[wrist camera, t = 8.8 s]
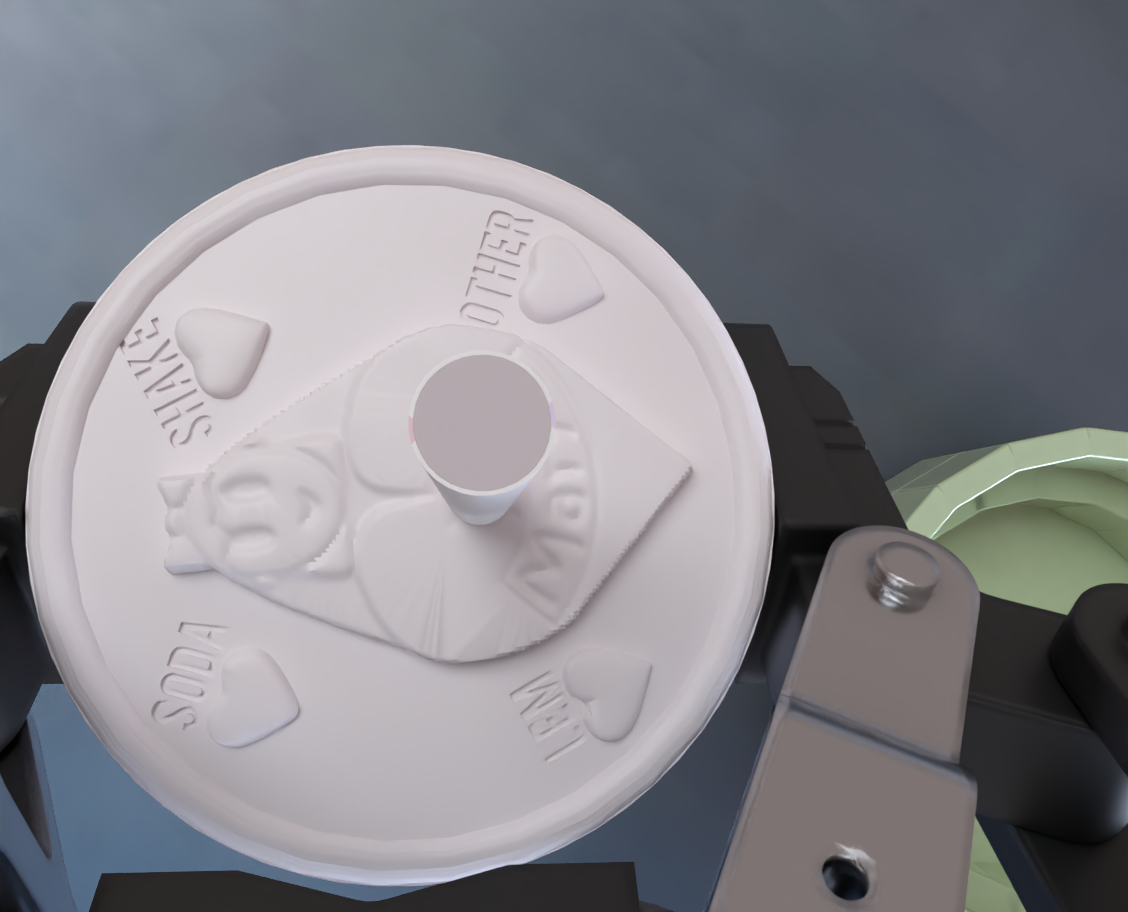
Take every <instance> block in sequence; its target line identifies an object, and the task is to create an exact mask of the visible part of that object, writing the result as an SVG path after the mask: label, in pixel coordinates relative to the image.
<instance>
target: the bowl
mask: <svg viewBox="0 0 1128 912" xmlns="http://www.w3.org/2000/svg"><path fill="white" fill-rule="evenodd" d="M885 484H886V486H887V488H888V490H889V492H890V494H891V496H892V498H893V500H894V502H895V504H896V506H897V508H898V510H899V512H900V514H901V516H902V518H903V520H904V522H905V524H906V526H907V528H908V530H910V531H913V532H916V533H919V534H921V535H924V536H926V537H928V538H930V539H932V540H934V541H936V542H938V543H939V544H941V545H942V546H944V547H945V548H947V549H948V550H950V551H951V552H952V553H953V554H954V555H956V556H957V557H958V558H959V559H960V560H961V561H962V562H963V563H964V564H965V565H966V567H967V568H968V569H969V571H970V572H971V574H972V575H973V577H974V579H975V581H976V583H977V585H978V589H979V591H980V592H983V593H985V594H988V595H991V596H995V597H998V598H1001V599H1005V600H1009V601H1013V602H1017V603H1021V604H1025V605H1029V606H1033V607H1037V608H1041V609H1045V610H1049V611H1053V612H1057V613H1061V614H1065V615H1068V613H1069V611H1070V610H1071V608H1072V607H1073V605H1074V603H1075V602H1076V600H1077V599H1078V598H1079V596H1080V595H1081V594H1082V593H1083V592H1084V591H1086V590H1087V589H1089V588H1091V587H1094V586H1097V585H1100V584H1107V583H1125V584H1128V432H1123V431H1115V430H1107V429H1099V428H1091V427H1087V428H1085V427H1082V428H1077V429H1072V430H1067V431H1063V432H1058V433H1053V434H1048V435H1043V436H1038V437H1033V438H1028V439H1023V440H1018V441H1013V442H1008V443H1003V444H998V445H993V446H988V447H983V448H978V449H973V450H969V451H964V452H959V453H954V454H949V455H944V456H939V457H934V458H930V459H925V460H922V461H919V462H918V463H916V464H914V465H913V466H911V467H909V468H908V469H906V470H904V471H903V472H901V473H899V474H898V475H896V476H894V477H892V478H891V479H889V480H887V481H886V482H885ZM965 912H1026V910H1025V908H1024V906H1023V905H1022V903H1021V901H1020V899H1019V897H1018V895H1017V893H1016V892H1015V890H1014V888H1013V886H1012V884H1011V882H1010V880H1009V878H1008V877H1007V875H1006V873H1005V871H1004V869H1003V867H1002V865H1001V864H1000V862H999V860H998V858H997V856H996V854H995V852H994V851H993V849H992V847H991V845H990V843H989V841H988V839H987V837H986V836H985V834H984V832H983V830H982V828H981V826H980V824H979V823H978V821H977V819H976V817H975V822H974V831H973V840H972V849H971V858H970V867H969V876H968V885H967V894H966V903H965Z"/></svg>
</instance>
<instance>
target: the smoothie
mask: <svg viewBox="0 0 1128 912" xmlns="http://www.w3.org/2000/svg"><path fill="white" fill-rule="evenodd" d="M25 516H26V550H27V558H28V567H29V575H30V583H31V587H32V592H33V596H34V601H35V605H36V610H37V614H38V619H39V622H40V625H41V628H42V631H43V634H44V636H45V639H46V642H47V645H48V648H49V651H50V654H51V657H52V659H53V661H54V663H55V665H56V668H57V670H58V672H59V674H60V676H61V678H62V681H63V683H64V685H65V687H66V689H67V691H68V693H69V695H70V696H71V698H72V700H73V701H74V703H75V705H76V706H77V708H78V710H79V711H80V713H81V715H82V716H83V718H84V720H85V721H86V723H87V724H88V726H89V727H90V728H91V730H92V731H93V732H94V734H95V735H96V736H97V738H98V739H99V740H100V742H101V743H102V744H103V746H104V747H105V748H106V750H107V751H108V752H109V754H110V755H111V756H112V757H113V758H114V759H115V760H116V761H117V762H118V764H119V765H120V766H121V767H122V768H123V769H124V770H125V771H126V772H127V773H128V774H129V775H130V777H131V778H132V779H133V780H134V781H135V782H136V783H137V784H138V785H140V786H141V787H142V788H143V789H144V790H145V791H146V792H148V793H149V794H150V795H151V796H152V797H153V798H154V799H156V800H157V801H158V802H159V803H160V804H161V805H163V806H164V807H165V808H166V809H168V810H169V811H171V812H172V813H173V814H175V815H176V816H178V817H179V818H180V819H182V820H183V821H185V822H186V823H188V824H189V825H190V826H192V827H193V828H195V829H196V830H198V831H200V832H201V833H203V834H205V835H207V836H209V837H210V838H212V839H214V840H216V841H218V842H219V843H221V844H223V845H225V846H227V847H228V848H230V849H233V850H235V851H237V852H240V853H242V854H244V855H247V856H249V857H251V858H254V859H256V860H258V861H261V862H263V863H265V864H269V865H272V866H275V867H278V868H281V869H285V870H288V871H291V872H294V873H298V874H301V875H305V876H310V877H315V878H320V879H325V880H330V881H335V882H340V883H351V884H361V885H371V886H420V885H430V884H439V883H445V882H449V881H453V880H456V879H460V878H463V877H467V876H470V875H474V874H477V873H481V872H484V871H488V870H491V869H495V868H498V867H502V866H505V865H519V864H525V863H528V862H530V861H533V860H535V859H537V858H540V857H542V856H544V855H547V854H549V853H551V852H554V851H556V850H558V849H561V848H563V847H565V846H567V845H568V844H570V843H572V842H574V841H576V840H577V839H579V838H581V837H583V836H585V835H587V834H588V833H590V832H592V831H594V830H596V829H597V828H598V827H600V826H601V825H603V824H604V823H606V822H607V821H609V820H610V819H612V818H613V817H614V816H616V815H617V814H619V813H620V812H622V811H623V810H625V809H626V808H627V807H628V806H630V805H631V804H632V803H633V802H634V801H636V800H637V799H638V798H639V797H640V796H642V795H643V794H644V793H645V792H646V791H648V790H649V789H650V788H651V787H652V786H653V785H655V784H656V783H657V782H658V781H659V779H660V778H661V777H662V776H663V775H664V774H665V773H666V772H667V771H668V770H669V769H670V768H671V767H672V766H673V765H674V764H675V763H676V762H677V761H678V760H679V759H680V758H681V757H682V756H683V754H684V753H685V752H686V751H687V749H688V748H689V747H690V746H691V744H692V743H693V742H694V741H695V739H696V738H697V737H698V736H699V734H700V733H701V732H702V731H703V729H704V728H705V726H706V725H707V723H708V722H709V720H710V719H711V717H712V716H713V714H714V713H715V711H716V710H717V708H718V706H719V705H720V703H721V702H722V700H723V699H724V697H725V695H726V693H727V691H728V689H729V687H730V685H731V683H732V682H733V680H734V678H735V676H736V674H737V672H738V670H739V668H740V666H741V664H742V661H743V659H744V656H745V654H746V651H747V649H748V647H749V644H750V642H751V639H752V637H753V634H754V631H755V628H756V624H757V621H758V618H759V614H760V611H761V608H762V604H763V601H764V597H765V592H766V587H767V582H768V577H769V571H770V566H771V558H772V548H773V538H774V485H773V474H772V463H771V456H770V451H769V446H768V441H767V435H766V430H765V425H764V422H763V418H762V415H761V411H760V408H759V404H758V401H757V398H756V394H755V391H754V389H753V386H752V384H751V381H750V379H749V376H748V374H747V371H746V369H745V366H744V363H743V361H742V359H741V357H740V355H739V353H738V351H737V349H736V347H735V345H734V343H733V341H732V339H731V337H730V335H729V334H728V332H727V330H726V328H725V327H724V325H723V323H722V322H721V320H720V319H719V317H718V316H717V314H716V312H715V311H714V309H713V308H712V306H711V305H710V303H709V301H708V300H707V299H706V298H705V296H704V295H703V294H702V292H701V291H700V290H699V289H698V287H697V286H696V285H695V283H694V282H693V281H692V280H691V278H690V277H689V276H688V274H687V273H686V272H685V271H684V270H683V269H682V268H681V267H680V266H679V265H678V264H677V263H676V262H675V261H674V259H673V258H672V257H671V256H670V255H669V254H668V253H667V252H666V251H665V250H664V249H663V248H662V247H661V246H660V245H659V244H657V243H656V242H655V241H654V240H653V239H652V238H651V237H649V236H648V235H647V234H646V233H645V232H644V231H643V230H641V229H640V228H639V227H638V226H637V225H635V224H634V223H633V222H631V221H630V220H628V219H627V218H626V217H624V216H623V215H622V214H620V213H619V212H617V211H616V210H615V209H613V208H612V207H611V206H609V205H607V204H606V203H604V202H602V201H601V200H599V199H597V198H595V197H594V196H592V195H590V194H589V193H587V192H585V191H584V190H582V189H580V188H578V187H576V186H574V185H572V184H570V183H567V182H565V181H563V180H561V179H559V178H557V177H555V176H553V175H551V174H548V173H545V172H543V171H540V170H537V169H534V168H532V167H529V166H526V165H523V164H521V163H518V162H515V161H511V160H507V159H503V158H499V157H495V156H492V155H488V154H484V153H478V152H472V151H466V150H460V149H454V148H447V147H433V146H418V145H400V146H374V147H365V148H357V149H349V150H341V151H337V152H332V153H327V154H323V155H318V156H313V157H309V158H305V159H302V160H299V161H296V162H292V163H289V164H286V165H283V166H280V167H277V168H273V169H271V170H269V171H266V172H264V173H262V174H259V175H257V176H254V177H252V178H250V179H247V180H245V181H243V182H240V183H238V184H236V185H235V186H233V187H231V188H229V189H227V190H225V191H223V192H222V193H220V194H218V195H216V196H214V197H212V198H211V199H209V200H207V201H206V202H204V203H203V204H201V205H200V206H198V207H197V208H195V209H194V210H192V211H191V212H189V213H188V214H186V215H185V216H183V217H182V218H180V219H179V220H177V221H176V222H175V223H174V224H172V225H171V226H170V227H169V228H167V229H166V230H165V231H164V232H163V233H161V234H160V235H159V236H158V237H156V238H155V239H154V240H153V241H152V242H150V243H149V244H148V245H147V246H146V247H145V248H144V249H143V250H142V251H141V252H140V253H139V254H138V255H137V256H136V257H135V258H134V259H133V260H132V261H131V262H130V263H129V264H128V265H127V266H126V267H125V268H124V269H123V270H122V271H121V273H120V274H119V275H118V276H117V277H116V279H115V280H114V281H113V282H112V283H111V285H110V286H109V287H108V288H107V290H106V291H105V292H104V293H103V294H102V296H101V297H100V298H99V299H98V301H97V302H96V304H95V305H94V307H93V308H92V310H91V311H90V313H89V314H88V316H87V317H86V319H85V320H84V322H83V323H82V325H81V326H80V328H79V329H78V331H77V333H76V335H75V337H74V339H73V340H72V342H71V344H70V346H69V348H68V350H67V352H66V353H65V355H64V357H63V359H62V361H61V363H60V366H59V368H58V370H57V373H56V375H55V378H54V380H53V382H52V385H51V387H50V390H49V392H48V394H47V397H46V400H45V404H44V407H43V410H42V414H41V417H40V420H39V424H38V427H37V430H36V434H35V439H34V445H33V450H32V455H31V460H30V465H29V472H28V483H27V494H26V505H25Z"/></svg>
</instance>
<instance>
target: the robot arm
mask: <svg viewBox="0 0 1128 912" xmlns="http://www.w3.org/2000/svg"><path fill="white" fill-rule="evenodd" d="M95 304H96V302H76V303H74V304H73V305H72V306H71V307H70V308H69V310H68V311H67V313H66V314H65V315H64V317H63V318H62V320H61V321H60V323H59V324H58V325H57V327H56V328H55V330H54V331H53V332H52V334H51V335H50V337H49V338H48V340H47V341H46V342H45V344H27V345H25V346H24V347H22V348H20V349H19V350H17V351H16V352H14V353H13V354H11V355H10V356H8V357H7V358H5V359H3V360H2V361H0V912H78V911H77V908H76V905H75V902H74V900H73V896H72V893H71V890H70V887H69V883H68V879H67V875H66V870H65V865H64V860H63V855H62V850H61V845H60V840H59V835H58V830H57V825H56V820H55V815H54V810H53V805H52V800H51V795H50V790H49V785H48V780H47V775H46V770H45V765H44V760H43V755H42V750H41V745H40V740H39V735H38V730H37V727H36V724H35V722H34V720H33V718H32V716H31V714H30V709H31V707H32V704H33V702H34V700H35V698H36V696H37V694H38V691H39V689H40V687H41V685H42V684H64V683H63V681H62V678H61V676H60V674H59V672H58V670H57V668H56V665H55V663H54V661H53V659H52V657H51V654H50V651H49V648H48V645H47V642H46V639H45V636H44V634H43V631H42V628H41V625H40V622H39V619H38V614H37V610H36V605H35V601H34V596H33V592H32V587H31V583H30V575H29V567H28V558H27V550H26V516H25V505H26V494H27V483H28V472H29V465H30V460H31V455H32V450H33V445H34V439H35V434H36V430H37V427H38V424H39V420H40V417H41V414H42V410H43V407H44V404H45V400H46V397H47V394H48V392H49V390H50V387H51V385H52V382H53V380H54V378H55V375H56V373H57V370H58V368H59V366H60V363H61V361H62V359H63V357H64V355H65V353H66V352H67V350H68V348H69V346H70V344H71V342H72V340H73V339H74V337H75V335H76V333H77V331H78V329H79V328H80V326H81V325H82V323H83V322H84V320H85V319H86V317H87V316H88V314H89V313H90V311H91V310H92V308H93V307H94V305H95ZM723 325H724V327H725V328H726V330H727V332H728V334H729V335H730V337H731V339H732V341H733V343H734V345H735V347H736V349H737V351H738V353H739V355H740V357H741V359H742V361H743V363H744V366H745V369H746V371H747V374H748V376H749V379H750V381H751V384H752V386H753V389H754V391H755V394H756V398H757V401H758V404H759V408H760V411H761V415H762V418H763V422H764V425H765V430H766V435H767V441H768V446H769V451H770V456H771V463H772V474H773V485H774V538H773V548H772V558H771V566H770V571H769V577H768V582H767V587H766V592H765V597H764V601H763V604H762V608H761V611H760V614H759V618H758V621H757V624H756V628H755V631H754V634H753V637H752V639H751V642H750V644H749V647H748V649H747V651H746V654H745V656H744V659H743V661H742V664H741V666H740V668H739V670H738V672H737V674H736V676H735V678H734V680H735V683H768V685H769V689H770V693H771V696H772V700H773V703H774V706H773V709H772V712H771V714H770V717H769V720H768V723H767V726H766V729H765V732H764V735H763V738H762V741H761V744H760V747H759V749H758V752H757V755H756V758H755V761H754V764H753V767H752V770H751V773H750V776H749V779H748V782H747V785H746V788H745V791H744V794H743V797H742V800H741V803H740V806H739V809H738V812H737V815H736V818H735V821H734V824H733V827H732V830H731V832H730V835H729V838H728V841H727V844H726V847H725V850H724V853H723V856H722V859H721V862H720V865H719V868H718V871H717V874H716V877H715V880H714V883H713V885H712V888H711V891H710V894H709V897H708V900H707V903H706V906H705V909H704V911H703V912H965V903H966V894H967V885H968V876H969V867H970V858H971V849H972V840H973V831H974V822H975V817H976V819H977V821H978V823H979V824H980V826H981V828H982V830H983V832H984V834H985V836H986V837H987V839H988V841H989V843H990V845H991V847H992V849H993V851H994V852H995V854H996V856H997V858H998V860H999V862H1000V864H1001V865H1002V867H1003V869H1004V871H1005V873H1006V875H1007V877H1008V878H1009V880H1010V882H1011V884H1012V886H1013V888H1014V890H1015V892H1016V893H1017V895H1018V897H1019V899H1020V901H1021V903H1022V905H1023V906H1024V908H1025V910H1026V912H1128V584H1125V583H1107V584H1100V585H1097V586H1094V587H1091V588H1089V589H1087V590H1086V591H1084V592H1083V593H1082V594H1081V595H1080V596H1079V598H1078V599H1077V600H1076V602H1075V603H1074V605H1073V607H1072V608H1071V610H1070V611H1069V613H1068V615H1065V614H1061V613H1057V612H1053V611H1049V610H1045V609H1041V608H1037V607H1033V606H1029V605H1025V604H1021V603H1017V602H1013V601H1009V600H1005V599H1001V598H998V597H995V596H991V595H988V594H985V593H983V592H980V591H979V589H978V585H977V583H976V581H975V579H974V577H973V575H972V574H971V572H970V571H969V569H968V568H967V567H966V565H965V564H964V563H963V562H962V561H961V560H960V559H959V558H958V557H957V556H956V555H954V554H953V553H952V552H951V551H950V550H948V549H947V548H945V547H944V546H942V545H941V544H939V543H938V542H936V541H934V540H932V539H930V538H928V537H926V536H924V535H921V534H919V533H916V532H913V531H910V530H908V528H907V526H906V524H905V522H904V520H903V518H902V516H901V514H900V512H899V510H898V508H897V506H896V504H895V502H894V500H893V498H892V496H891V494H890V492H889V490H888V488H887V486H886V484H885V482H884V480H883V478H882V476H881V474H880V472H879V470H878V468H877V466H876V464H875V462H874V460H873V458H872V456H871V454H870V452H869V450H865V442H864V440H863V438H862V436H861V434H860V432H859V430H858V428H857V426H854V425H853V422H854V420H853V418H852V416H851V414H850V412H849V410H848V408H847V406H846V404H845V402H844V400H843V398H842V396H841V394H840V392H839V391H838V390H837V389H836V388H835V387H833V386H832V385H831V384H830V383H829V382H828V381H827V380H825V379H824V378H823V377H822V376H821V375H820V374H818V373H817V372H816V371H815V370H814V369H813V368H812V367H810V366H789V364H788V362H787V360H786V358H785V355H784V353H783V351H782V349H781V346H780V344H779V342H778V340H777V337H776V335H775V333H774V331H773V329H772V327H771V326H770V325H767V324H737V323H723ZM89 912H673V911H671V910H668V909H666V908H663V907H661V906H658V905H654V904H650V903H646V902H643V901H639V900H638V892H637V883H636V875H635V867H634V862H612V863H565V864H519V865H505V866H502V867H498V868H495V869H491V870H488V871H484V872H481V873H477V874H474V875H470V876H467V877H463V878H460V879H456V880H453V881H449V882H445V883H442V884H438V885H435V886H431V887H428V888H424V889H421V890H417V891H414V892H410V893H407V894H403V895H400V896H396V897H393V898H389V899H385V900H380V901H370V902H366V901H359V900H354V899H350V898H346V897H342V896H338V895H334V894H330V893H326V892H322V891H318V890H314V889H310V888H306V887H302V886H298V885H294V884H290V883H286V882H282V881H278V880H274V879H270V878H266V877H262V876H258V875H254V874H249V873H245V872H241V871H193V872H147V873H102V874H101V877H100V880H99V883H98V886H97V889H96V892H95V895H94V898H93V901H92V904H91V907H90V910H89Z"/></svg>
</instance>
